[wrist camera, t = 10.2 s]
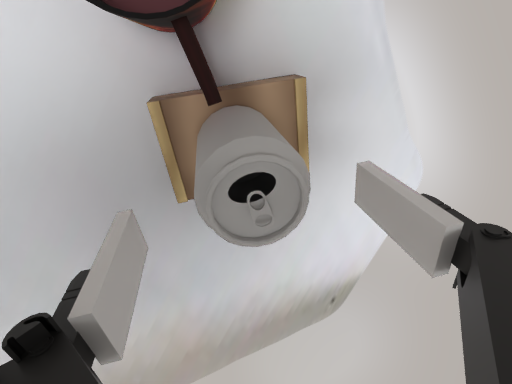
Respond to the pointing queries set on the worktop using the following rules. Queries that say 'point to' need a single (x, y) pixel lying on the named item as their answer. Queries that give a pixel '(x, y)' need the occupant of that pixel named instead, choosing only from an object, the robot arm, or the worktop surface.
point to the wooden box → (197, 110)
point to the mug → (172, 29)
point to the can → (248, 178)
